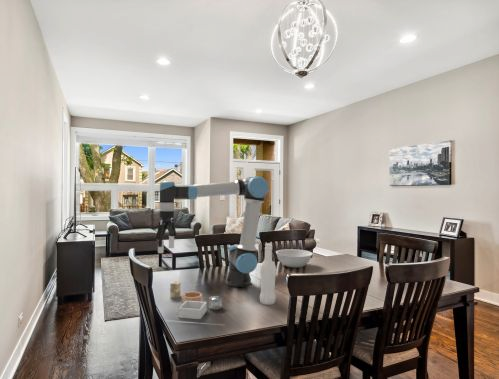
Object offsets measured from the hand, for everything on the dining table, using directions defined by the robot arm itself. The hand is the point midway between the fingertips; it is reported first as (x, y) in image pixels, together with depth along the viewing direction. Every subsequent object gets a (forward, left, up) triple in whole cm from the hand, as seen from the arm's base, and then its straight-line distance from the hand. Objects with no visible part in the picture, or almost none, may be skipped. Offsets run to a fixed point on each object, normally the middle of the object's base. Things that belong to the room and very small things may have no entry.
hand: (166, 250), depth 179 cm
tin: (-30, +14, -24) cm, 41 cm away
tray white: (-22, +24, -24) cm, 41 cm away
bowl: (-67, -80, -24) cm, 108 cm away
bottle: (-54, +1, -24) cm, 60 cm away
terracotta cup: (-18, +12, -24) cm, 33 cm away
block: (-6, +3, -24) cm, 25 cm away
